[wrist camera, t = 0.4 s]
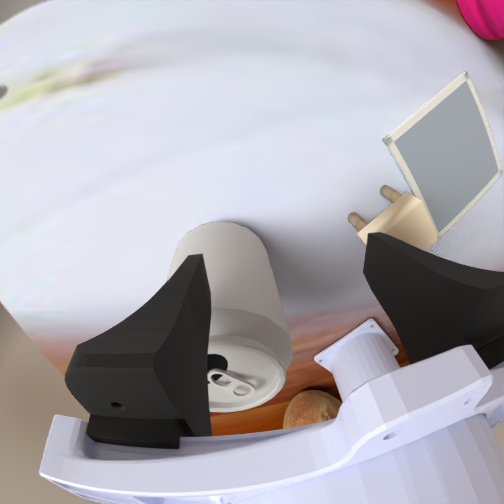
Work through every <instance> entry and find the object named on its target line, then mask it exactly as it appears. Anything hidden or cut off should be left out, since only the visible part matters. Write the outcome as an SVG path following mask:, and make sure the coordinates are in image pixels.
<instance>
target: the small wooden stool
mask: <svg viewBox="0 0 504 504" xmlns="http://www.w3.org/2000/svg"><path fill="white" fill-rule="evenodd" d="M380 193H381V195H383V196H384V197H385V198H387V199H388V200H389V201H391V202H392V204H391V205H390V206H389V207H388V208H387V209H385V210H384V211H383V212H382V213H381V214H380V215H378V216H377V217H376V218H375V219H374V220H372V221H371V222H370V223H369V224H368V225H367V224H366V223H365V222H364V221H363V220H362V219H361V218H360V217H359V216H358V215H357V214H356V213H350V214H349V215H348V221H349V222H350V223H351V224H352V225H353V227H354V228H355V229H356V230H357V231H358V233H357V235H358V236H359V238H360V239H361V240H362V242H363V243H364V245H365V246H366V245H367V236H368V233H374V232H382V233H385V234H388V235H390V236H393V237H395V238H397V239H399V240H402V241H404V242H406V243H408V244H410V245H413V246H415V247H417V248H419V249H421V250H424V251H426V250H427V249H429V248H430V247H431V246H432V245H433V244H434V243H435V242H436V241H437V240H438V237H437V234H436V232H435V229H434V227H433V225H432V222H431V220H430V218H429V215H428V213H427V211H426V209H425V207H424V205H423V202H422V201H421V200H420V199H418V198H416V197H415V196H413V195H412V194H410V193H409V192H407V191H406V192H405V193H404V194H403V195H400V194H399V193H397V192H396V191H394V190H393V189H391V188H390V187H388V186H386V185H384V186H382V187H381V189H380Z"/></svg>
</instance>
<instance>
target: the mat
mask: <svg viewBox="0 0 504 504" xmlns="http://www.w3.org/2000/svg"><path fill="white" fill-rule="evenodd" d="M382 140H383V142H384V143H385V145H386V146H387V148H388V150H389V151H390V153H391V155H392V156H393V158H394V160H395V162H396V163H397V165H398V167H399V169H400V170H401V172H402V174H403V176H404V178H405V180H406V181H407V183H408V185H409V187H410V189H411V191H412V193H413V195H414V196H415V197H416V198H418V199H420V200H421V201H422V202H423V205H424V207H425V209H426V211H427V213H428V215H429V218H430V220H431V222H432V225H433V227H434V229H435V232H436V234H437V237H438V239H439V238H440V237H441V236H442V235H443V234H444V233H446V232H447V231H448V230H449V229H450V228H451V227H452V226H453V225H454V224H455V223H456V222H457V221H458V220H459V219H460V218H461V217H462V216H463V215H464V214H465V213H466V212H467V211H468V210H469V209H470V208H471V207H472V206H473V205H474V204H475V203H476V202H477V201H478V200H479V199H480V198H481V196H482V195H483V194H484V193H485V192H486V191H487V190H488V189H489V188H490V187H491V186H492V184H493V183H494V182H495V181H496V180H497V179H498V178H499V177H500V175H501V174H502V169H501V165H500V161H499V157H498V154H497V150H496V147H495V143H494V140H493V137H492V134H491V131H490V128H489V125H488V122H487V119H486V116H485V114H484V111H483V108H482V106H481V103H480V101H479V98H478V96H477V94H476V91H475V89H474V87H473V84H472V82H471V80H470V78H469V76H468V74H467V72H463V73H462V74H460V75H459V76H458V77H457V78H455V79H454V80H453V81H452V82H451V83H449V84H448V85H447V86H446V87H445V88H443V89H442V90H441V91H440V92H439V93H437V94H436V95H435V96H434V97H433V98H431V99H430V100H429V101H428V102H427V103H425V104H424V105H423V106H422V107H420V108H419V109H418V110H417V111H416V112H414V113H413V114H412V115H411V116H410V117H408V118H407V119H406V120H405V121H404V122H402V123H401V124H400V125H399V126H398V127H396V128H395V129H394V130H393V131H392V132H390V133H389V134H388V135H387V136H386V137H384V138H383V139H382Z"/></svg>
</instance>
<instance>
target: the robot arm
mask: <svg viewBox="0 0 504 504" xmlns="http://www.w3.org/2000/svg"><path fill="white" fill-rule="evenodd" d="M363 273H364V275H365V277H366V280H367V282H368V284H369V286H370V288H371V290H372V292H373V293H374V295H375V296H376V298H377V300H378V301H379V303H380V304H381V306H382V307H383V309H384V311H385V312H386V314H387V315H388V317H389V319H390V320H391V322H392V323H393V325H394V327H395V329H396V331H397V333H398V335H399V337H400V340H401V342H402V344H403V347H404V349H405V352H406V355H407V357H408V360H409V363H410V365H408V366H405V367H402V368H400V366H399V364H398V363H397V361H396V359H395V357H394V356H395V355H396V354H397V353H398V352H399V350H398V348H397V347H396V346H395V345H394V343H393V342H392V341H391V340H390V338H389V337H388V336H387V335H386V334H385V332H384V331H383V330H382V329H381V327H380V326H379V325H378V324H377V323H376V321H375V320H374V319H373V318H370V319H368V320H367V321H365V322H364V323H363V324H361V325H360V326H358V327H357V328H356V329H354V330H353V331H351V332H350V333H349V334H347V335H346V336H344V337H343V338H341V339H340V340H338V341H337V342H335V343H334V344H332V345H331V346H329V347H328V348H326V349H325V350H323V351H322V352H320V353H319V354H317V355H316V356H315V357H314V360H315V361H316V362H317V363H319V364H320V365H321V366H323V367H324V368H326V369H327V370H329V371H330V372H332V373H333V376H334V379H335V382H336V385H337V388H338V391H339V394H340V396H341V399H342V402H343V403H342V405H341V406H340V409H339V412H338V415H337V417H336V418H334V419H331V420H328V421H324V422H319V423H314V424H309V425H304V426H299V427H293V428H287V429H281V430H274V431H267V432H259V433H250V434H239V435H227V436H212V431H211V421H210V409H209V394H208V373H207V357H208V345H209V334H210V324H211V313H212V311H211V291H210V286H209V282H208V277H207V272H206V267H205V263H204V258H203V254H195V255H188V256H187V258H186V259H185V260H184V261H183V262H182V264H181V265H180V266H179V268H178V269H177V270H176V271H175V273H174V274H173V275H172V276H171V277H170V279H169V280H168V281H167V282H166V283H165V284H164V285H163V286H162V287H161V289H160V290H159V291H158V292H157V293H156V294H155V295H154V296H153V297H152V298H151V299H150V300H149V301H148V302H146V303H145V304H144V305H143V306H142V307H141V308H139V309H138V310H137V311H135V312H134V313H133V314H131V315H130V316H129V317H127V318H126V319H125V320H123V321H122V322H120V323H119V324H117V325H116V326H114V327H112V328H111V329H109V330H107V331H106V332H104V333H102V334H100V335H98V336H96V337H94V338H92V339H90V340H88V341H86V342H83V343H81V344H79V345H77V347H76V349H75V352H74V354H73V356H72V359H71V361H70V364H69V366H68V369H67V371H66V374H65V383H66V386H67V388H68V389H69V391H70V392H71V393H72V395H73V396H74V397H75V398H76V399H77V401H78V402H79V403H80V404H81V405H82V406H83V407H84V408H85V409H86V410H87V411H88V412H89V413H90V419H89V422H86V421H84V420H82V419H78V418H73V417H67V416H62V415H54V418H53V421H52V425H51V428H50V432H49V435H48V439H47V442H46V446H45V450H44V454H43V458H42V462H41V466H40V471H39V474H40V475H41V476H42V477H44V478H46V479H47V480H49V481H51V482H53V483H54V484H56V485H58V486H60V487H62V488H64V489H65V490H67V491H69V492H71V493H73V494H76V495H77V496H79V497H82V498H85V499H88V500H92V501H96V502H100V503H104V504H504V453H503V451H502V449H501V447H500V445H499V443H498V441H497V439H496V437H495V435H494V433H493V431H492V430H493V429H494V428H495V427H497V426H498V425H499V424H501V423H502V422H503V421H504V272H497V271H490V270H484V269H479V268H474V267H470V266H466V265H462V264H459V263H455V262H452V261H449V260H446V259H444V258H441V257H438V256H436V255H433V254H431V253H428V252H426V251H424V250H421V249H419V248H417V247H415V246H413V245H410V244H408V243H406V242H404V241H402V240H399V239H397V238H395V237H393V236H390V235H388V234H385V233H382V232H374V233H368V236H367V245H366V254H365V262H364V269H363Z"/></svg>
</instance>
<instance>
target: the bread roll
mask: <svg viewBox="0 0 504 504" xmlns="http://www.w3.org/2000/svg"><path fill="white" fill-rule="evenodd" d="M341 405H342V403H341V402H340V401H339V400H338V399H337V398H335V397H334V396H332V395H330V394H329V393H326V392H323V391H319V390H307V391H302V392H301V393H298V394H297V395H296V396H295V397H294V398H293V399H292V401H291V402H290V404H289V406H288V407H287V410H286V412H285V416H284V422H283V429H287V428H293V427H299V426H304V425H309V424H314V423H319V422H324V421H328V420H331V419H334V418H336V417H337V415H338V412H339V409H340V406H341Z"/></svg>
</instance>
